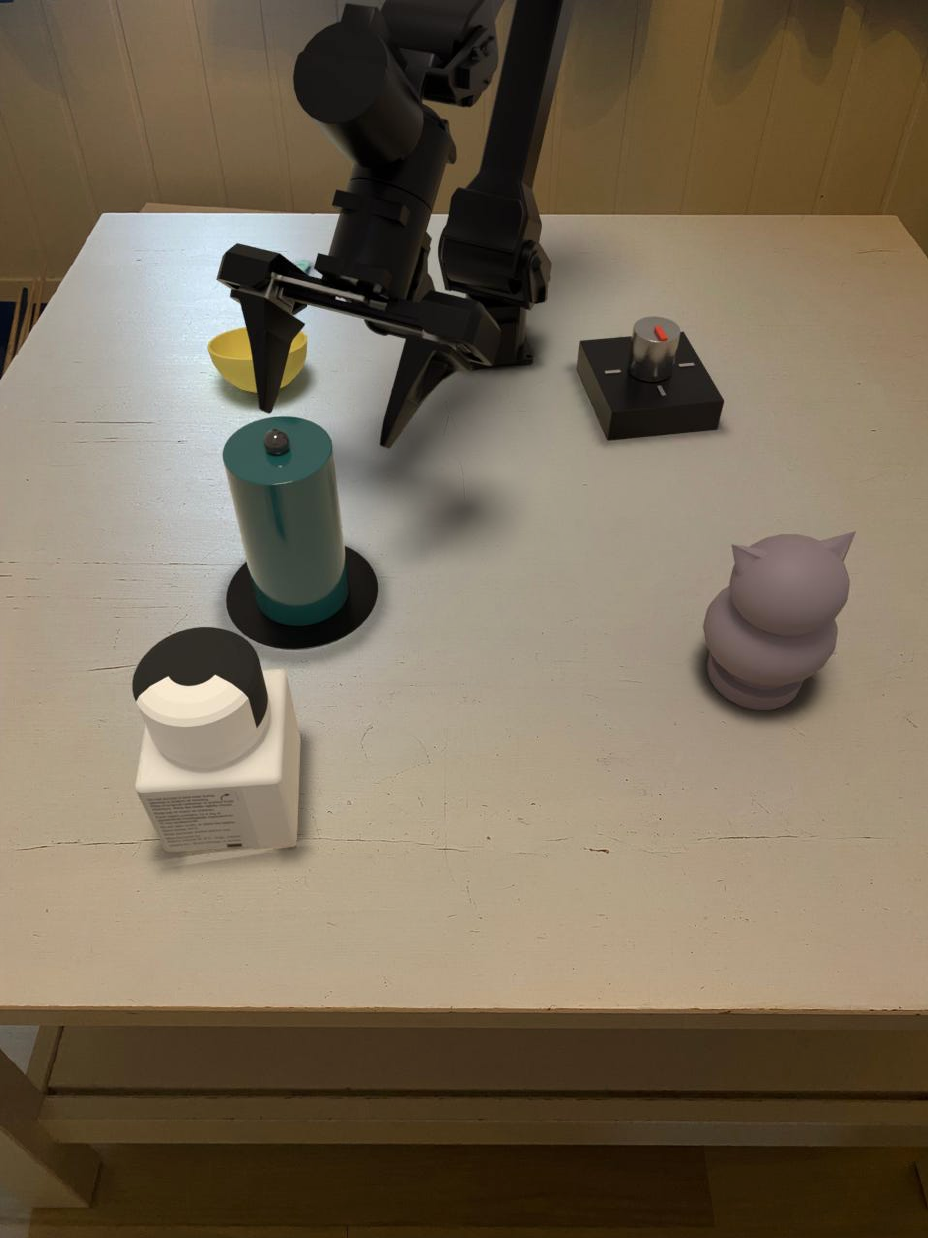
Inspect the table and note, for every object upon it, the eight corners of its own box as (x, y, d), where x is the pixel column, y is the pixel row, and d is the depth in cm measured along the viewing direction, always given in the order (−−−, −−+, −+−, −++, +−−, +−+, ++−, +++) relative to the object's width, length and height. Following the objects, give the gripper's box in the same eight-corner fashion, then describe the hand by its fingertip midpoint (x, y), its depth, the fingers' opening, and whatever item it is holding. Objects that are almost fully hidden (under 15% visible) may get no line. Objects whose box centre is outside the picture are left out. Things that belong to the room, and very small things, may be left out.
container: (180, 748, 60) (128, 613, 51) (302, 740, 61) (273, 605, 51) (165, 858, 55) (104, 732, 46) (298, 849, 56) (265, 722, 46)
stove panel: (576, 368, 89) (579, 338, 87) (678, 358, 90) (684, 329, 88) (607, 440, 82) (612, 410, 79) (717, 429, 83) (725, 399, 81)
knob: (621, 358, 85) (628, 315, 81) (664, 354, 85) (672, 311, 82) (634, 384, 82) (642, 340, 79) (678, 379, 83) (687, 336, 79)
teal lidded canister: (254, 563, 70) (218, 404, 60) (345, 553, 71) (326, 394, 60) (256, 632, 66) (218, 472, 55) (353, 620, 67) (334, 461, 56)
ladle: (204, 408, 83) (191, 343, 79) (271, 312, 104) (263, 258, 101) (303, 408, 82) (294, 343, 79) (350, 312, 104) (345, 257, 100)
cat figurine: (711, 728, 62) (755, 605, 53) (675, 637, 67) (710, 511, 58) (834, 712, 63) (898, 589, 54) (790, 624, 68) (841, 498, 59)
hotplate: (227, 554, 72) (225, 547, 71) (370, 539, 73) (370, 531, 73) (228, 666, 65) (226, 658, 64) (387, 646, 66) (386, 638, 66)
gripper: (546, 271, 67) (481, 482, 69) (318, 219, 72) (262, 417, 74) (510, 208, 57) (434, 459, 58) (245, 152, 62) (182, 385, 63)
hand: (323, 429), depth 64 cm, fingers open, 9 cm apart
